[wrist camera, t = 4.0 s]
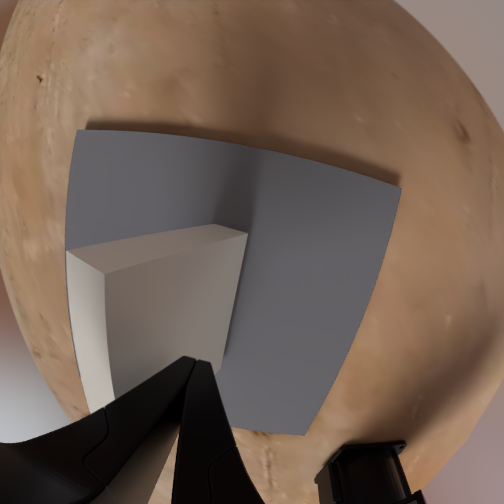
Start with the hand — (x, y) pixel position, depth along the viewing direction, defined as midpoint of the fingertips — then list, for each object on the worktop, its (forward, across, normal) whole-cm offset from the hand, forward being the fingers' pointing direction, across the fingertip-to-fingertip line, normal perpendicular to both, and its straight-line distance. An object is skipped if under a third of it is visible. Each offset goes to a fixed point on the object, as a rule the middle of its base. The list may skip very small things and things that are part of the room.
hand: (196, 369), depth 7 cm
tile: (+5, 0, 0) cm, 5 cm away
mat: (+6, +1, +1) cm, 6 cm away
